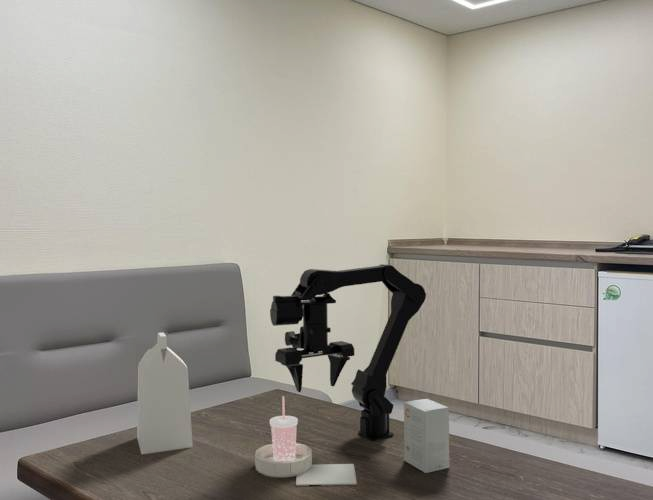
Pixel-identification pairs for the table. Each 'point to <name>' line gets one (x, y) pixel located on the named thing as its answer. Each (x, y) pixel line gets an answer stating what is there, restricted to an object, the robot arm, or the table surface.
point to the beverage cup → (284, 436)
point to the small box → (426, 435)
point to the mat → (327, 475)
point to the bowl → (283, 462)
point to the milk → (163, 400)
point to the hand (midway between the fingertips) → (316, 388)
